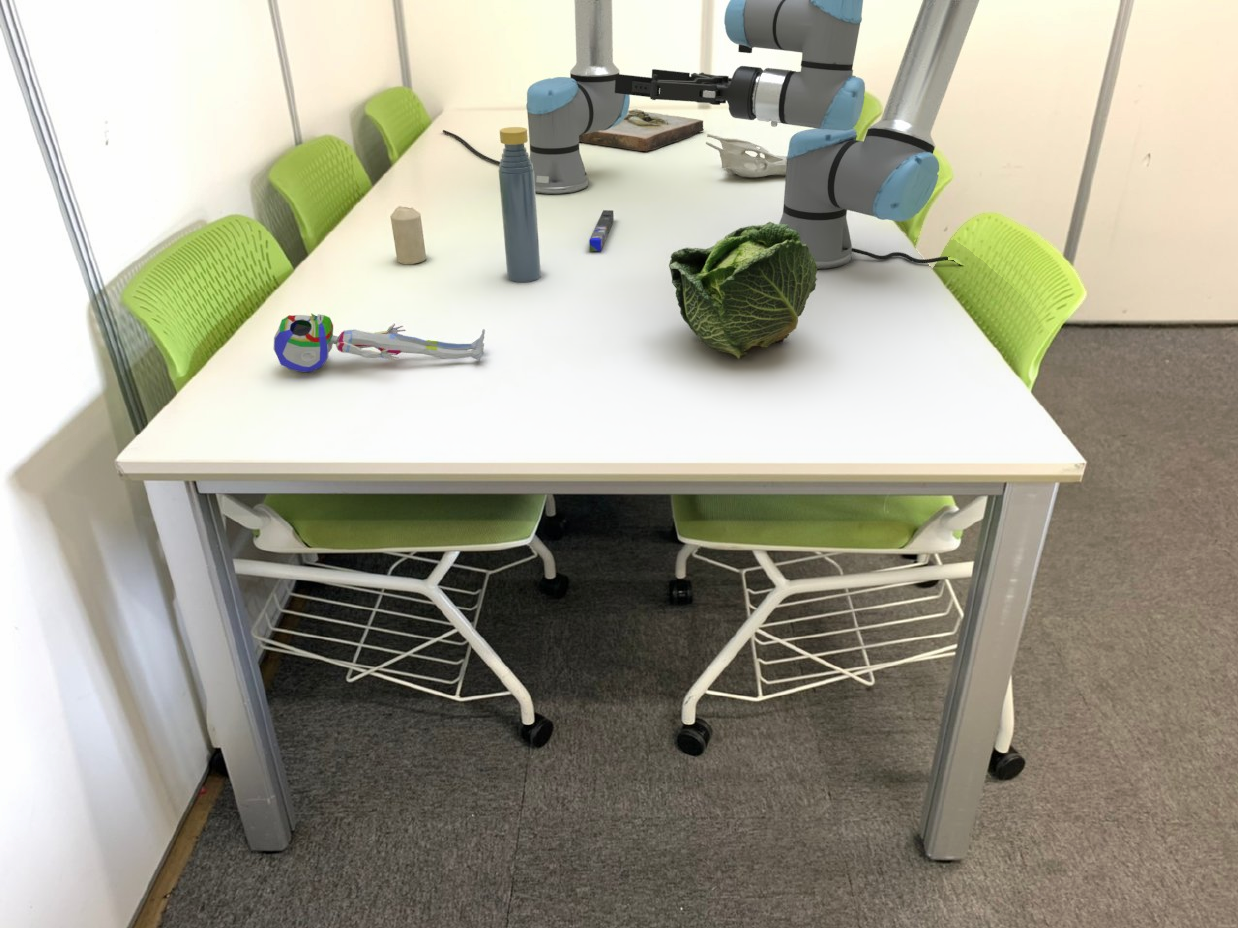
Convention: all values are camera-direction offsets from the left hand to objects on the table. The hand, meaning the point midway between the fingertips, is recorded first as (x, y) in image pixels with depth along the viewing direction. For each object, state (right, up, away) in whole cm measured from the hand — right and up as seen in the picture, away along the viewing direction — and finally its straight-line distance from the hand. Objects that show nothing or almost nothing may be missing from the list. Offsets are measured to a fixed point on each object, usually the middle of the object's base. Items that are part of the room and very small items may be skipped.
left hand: (766, 48), depth 176 cm
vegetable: (-10, -64, -39) cm, 75 cm away
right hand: (-26, -20, -31) cm, 46 cm away
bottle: (-46, -48, -12) cm, 68 cm away
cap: (-47, -26, -26) cm, 59 cm away
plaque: (-25, +13, +83) cm, 87 cm away
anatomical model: (+5, -11, +44) cm, 46 cm away
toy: (-64, -67, -42) cm, 102 cm away
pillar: (-32, -35, +6) cm, 48 cm away
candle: (-69, -43, -4) cm, 81 cm away
